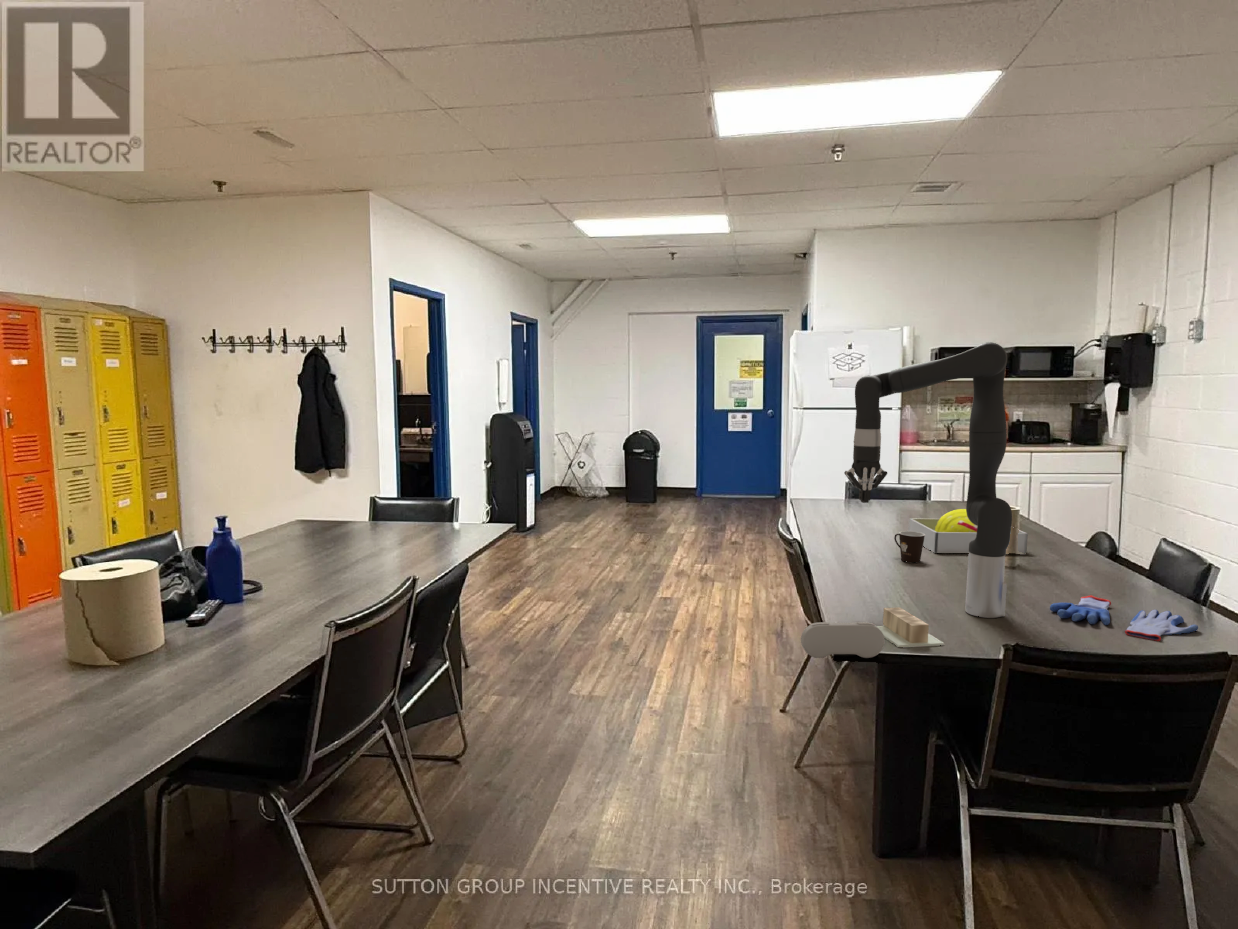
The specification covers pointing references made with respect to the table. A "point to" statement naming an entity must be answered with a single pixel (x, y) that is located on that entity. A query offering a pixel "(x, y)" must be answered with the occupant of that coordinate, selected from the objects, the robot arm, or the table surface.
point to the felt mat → (904, 643)
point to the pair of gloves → (1140, 624)
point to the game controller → (842, 639)
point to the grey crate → (951, 537)
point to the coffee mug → (910, 545)
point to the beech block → (905, 625)
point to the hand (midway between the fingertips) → (864, 502)
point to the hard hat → (955, 522)
